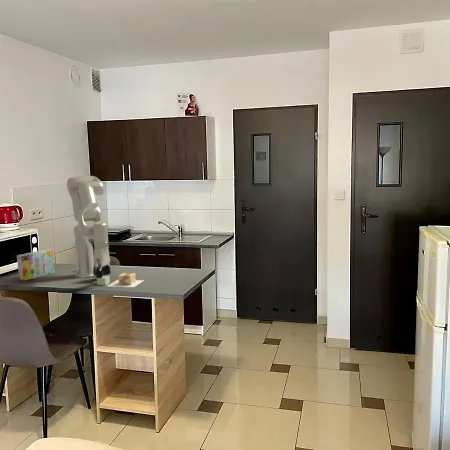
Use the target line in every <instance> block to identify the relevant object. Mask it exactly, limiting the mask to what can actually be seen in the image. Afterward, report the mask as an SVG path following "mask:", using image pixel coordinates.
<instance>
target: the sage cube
mask: <svg viewBox="0 0 450 450" xmlns="http://www.w3.org/2000/svg"><path fill="white" fill-rule="evenodd" d="M110 280H111V279H110V277H109V276H102V278H97V280H96V285H97V286H108V285H110V284H111V283H110V282H111V281H110Z"/></svg>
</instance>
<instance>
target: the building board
mask: <svg viewBox="0 0 450 450" xmlns="http://www.w3.org/2000/svg"><path fill="white" fill-rule="evenodd" d="M144 281H145V280H143V279H140V280H139V279H136V282H135V283H133V284H132V285H119V279H117V280H115V281H113V282H112V283H109V284H107V285H106V287H108V288H109V287H112V288H135V287H137V286H138V285H139V284H142V283H143V282H144Z"/></svg>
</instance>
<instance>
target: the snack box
mask: <svg viewBox="0 0 450 450" xmlns="http://www.w3.org/2000/svg"><path fill="white" fill-rule="evenodd" d="M16 259H17V260H16V262H17V269H18V270H17V271H18V280H20V281H27V280H32V279H35V278H40V277H45V276H48V275H52V274H55V273H56V270H55V259H54V250H53V249H43V250H39V251H33V252H27V253H24V254H18V255H16Z"/></svg>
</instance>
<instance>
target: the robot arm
mask: <svg viewBox="0 0 450 450" xmlns="http://www.w3.org/2000/svg"><path fill="white" fill-rule="evenodd" d="M66 188H67V191H68V194H69V195H70V199H71V202H72V209H73V216H74V220H75V221H76V222H77V225H75V226H74V227H73V235H74V239H75V247H76V248H75V249H76V260H77V268H73V269H72V273H75V277H76V278H80V279H81V278H83V279H85V278H92V277H94V275H93V267H94V266H95V269H96V277H97V278H102V271H101V269H102V267H103V266H105V267H104V271H105V274H110V268H111V257H110V250H109V248H110V247H109V246H110V245H109V234H108V233H109V232H108V231H109V230H108V225H107V223H106V222H104V220H103V215H102V210H101V208H100V207H99V206H98V199H97V197H96V196H102V195H104V192H105V187H104V184H103V181H102V180H100V179H99V178H98V177H97V176H94V175H85V176H83V175H82V176H81V175H80V176H79V175H78V176H72V177H68V179H67V180H66ZM89 240H93V244H94V247H93V244H92V243H91V242H90V241H89ZM99 267H100V268H99ZM110 275H111V274H110Z"/></svg>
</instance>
